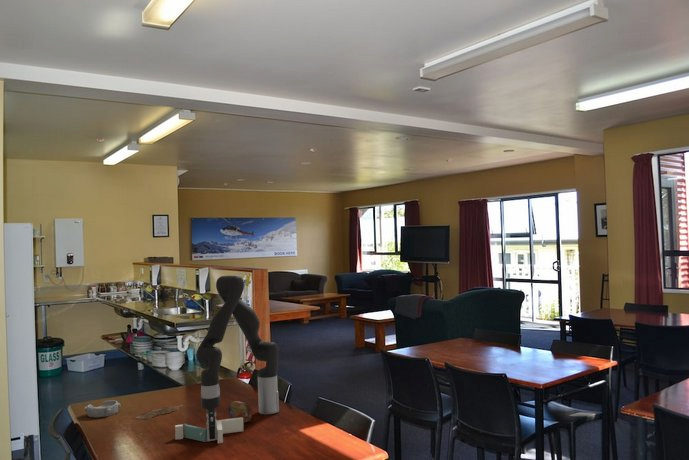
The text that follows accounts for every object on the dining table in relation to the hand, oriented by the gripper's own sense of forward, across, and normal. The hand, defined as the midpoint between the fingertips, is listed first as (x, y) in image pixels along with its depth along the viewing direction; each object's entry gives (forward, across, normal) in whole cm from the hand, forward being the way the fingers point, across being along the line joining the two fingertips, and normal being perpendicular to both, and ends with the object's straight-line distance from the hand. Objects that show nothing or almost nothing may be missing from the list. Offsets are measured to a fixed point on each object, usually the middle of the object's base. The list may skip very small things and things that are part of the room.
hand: (212, 436), depth 219 cm
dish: (+2, +58, +50) cm, 77 cm away
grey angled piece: (+2, +3, +1) cm, 3 cm away
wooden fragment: (+2, +50, +23) cm, 55 cm away
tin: (+2, +22, -13) cm, 26 cm away
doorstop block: (+1, 0, 0) cm, 1 cm away
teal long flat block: (+1, +4, +7) cm, 8 cm away
